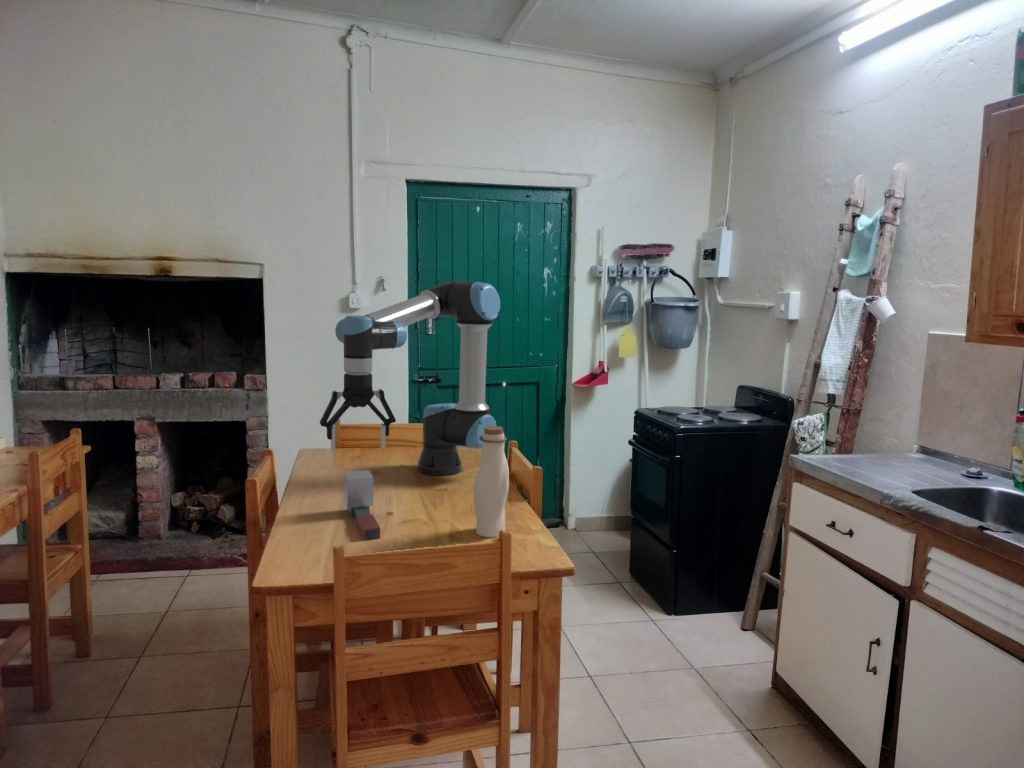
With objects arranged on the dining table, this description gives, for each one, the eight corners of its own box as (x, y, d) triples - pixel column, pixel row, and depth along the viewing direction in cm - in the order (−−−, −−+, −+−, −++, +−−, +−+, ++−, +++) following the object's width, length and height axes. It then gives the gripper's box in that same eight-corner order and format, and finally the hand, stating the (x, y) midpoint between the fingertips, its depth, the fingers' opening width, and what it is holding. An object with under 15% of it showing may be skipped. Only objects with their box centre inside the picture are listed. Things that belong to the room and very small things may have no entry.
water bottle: (472, 524, 184) (475, 422, 180) (505, 524, 185) (508, 423, 180) (473, 538, 174) (476, 431, 169) (508, 538, 174) (512, 432, 170)
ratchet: (364, 507, 194) (364, 484, 193) (381, 538, 172) (381, 511, 171) (347, 509, 192) (346, 485, 191) (361, 540, 170) (361, 513, 169)
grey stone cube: (368, 497, 194) (368, 470, 192) (373, 505, 187) (373, 477, 186) (343, 499, 191) (343, 472, 190) (347, 507, 184) (347, 479, 183)
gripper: (400, 369, 192) (400, 443, 195) (308, 372, 182) (310, 448, 186) (406, 373, 185) (406, 449, 188) (311, 376, 175) (313, 455, 179)
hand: (358, 449), depth 187 cm, fingers open, 13 cm apart
